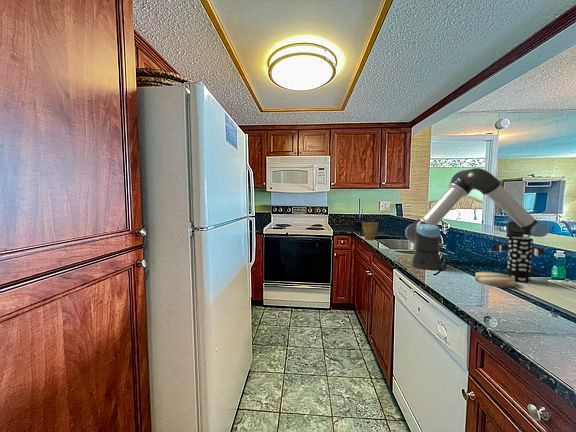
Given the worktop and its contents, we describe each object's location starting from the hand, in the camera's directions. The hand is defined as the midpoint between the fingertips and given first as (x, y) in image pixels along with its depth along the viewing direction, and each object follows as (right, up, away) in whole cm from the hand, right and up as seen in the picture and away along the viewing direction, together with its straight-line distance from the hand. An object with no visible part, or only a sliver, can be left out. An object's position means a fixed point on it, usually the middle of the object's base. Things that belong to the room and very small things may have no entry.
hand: (518, 251), depth 128 cm
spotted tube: (-6, -13, -7) cm, 16 cm away
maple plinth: (-20, -13, -10) cm, 26 cm away
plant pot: (-38, -5, +114) cm, 121 cm away
